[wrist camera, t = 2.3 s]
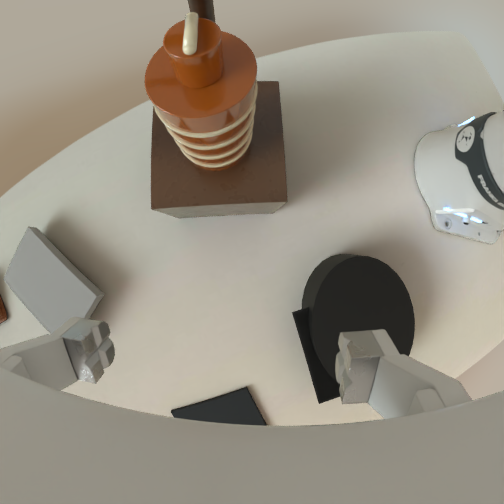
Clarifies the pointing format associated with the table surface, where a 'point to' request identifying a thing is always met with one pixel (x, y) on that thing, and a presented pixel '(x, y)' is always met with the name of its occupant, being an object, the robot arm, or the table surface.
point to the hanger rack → (228, 180)
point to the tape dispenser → (350, 313)
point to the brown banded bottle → (205, 91)
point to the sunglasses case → (2, 311)
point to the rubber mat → (224, 410)
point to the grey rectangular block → (49, 282)
